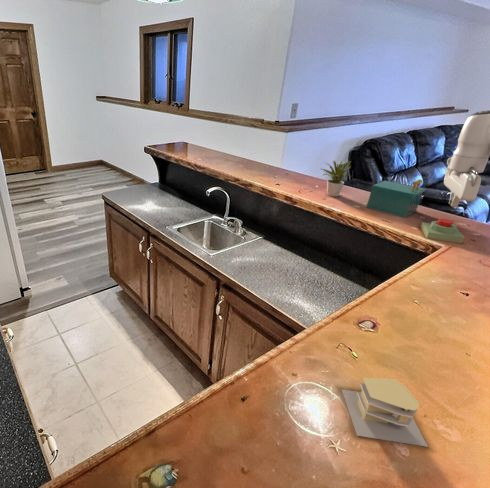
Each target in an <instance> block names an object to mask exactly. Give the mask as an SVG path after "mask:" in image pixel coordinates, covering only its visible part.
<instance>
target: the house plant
mask: <svg viewBox="0 0 490 488" xmlns="http://www.w3.org/2000/svg"><path fill="white" fill-rule="evenodd" d="M351 162H352V161H347V162H344V163H343V160H341V161H340V162H339V164H338V163H337V162H336V161H335V160H334V159H332V164H333V165H334V168H333V166H332V165H331V164H330V163H327V162H324V161H323V163H325V164H326V165H327V166H329V169H331V170H328V169H325V168H320V170H322V172H323V174H322V175H321V176H322V177H323V176H328V177H331V179H328V180H327V181H326V195H327V196H330V197H339V196H340V194H341V191H342V189H343V187H344V184H345V182H344V181H343V180H342V179H343V178H345V177H351V175H349V174H348V175H347V171H349V170H351V168H352V167H351V166H352V165H351Z"/></svg>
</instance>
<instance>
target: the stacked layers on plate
mask: <svg viewBox="0 0 490 488" xmlns="http://www.w3.org/2000/svg"><path fill="white" fill-rule="evenodd" d="M362 380H363V383H360V388H361V391H355V390H348V389H341V392H342V396H343V398H344V401H345V404H346V407H347V410H348V413H349V416H350V419H351V422H352V425H353V428H354V431H355V434H356V436H358V437H364V438H369V439H375V440H376V439H377V440H381V441H389V442H395V443H401V444H406V445H407V444H408V445H414V446H421V447H425V448H428V447H429V446H428V443H427V442H426V440H425V438H424V437H423V434H422V432H421V431H420V428H419V427H418V425H417V422H416V420H415V419H414V416H415V414H416V413H417V411H418V408H419V406H420V402H419V401H418V399H416V397H415V396H414V395H413V393H411V392H410V390H409V389H408V388H407V387H406V386H405V384H403V383H402V382H401V381H399V380H397V379H394V378H386V377H384V378H381V377H362Z"/></svg>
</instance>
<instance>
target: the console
mask: <svg viewBox="0 0 490 488" xmlns="http://www.w3.org/2000/svg"><path fill="white" fill-rule="evenodd" d="M437 222H438V220H433V221H431V222H425V221H424V222H421V223H420V226H419V227H420V230H421V231H422V233H423V235H424V236H425V238H426V239H430V240H437V241H444V242H445V241H446V242H452V243H460V244H462V243H463V241H464V239H465V236H464V235H463V234H462V233H461V232H460V230H459V228H458V226H457V225H456V224H454V223H452V225H451V227H443V226H439V225H437Z"/></svg>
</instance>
